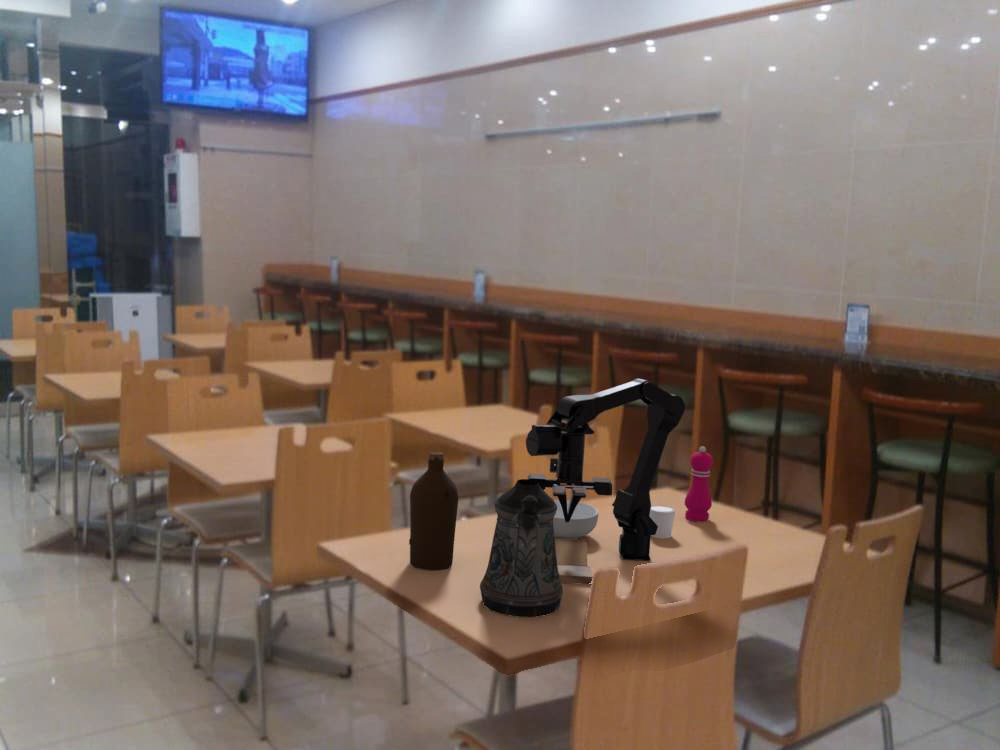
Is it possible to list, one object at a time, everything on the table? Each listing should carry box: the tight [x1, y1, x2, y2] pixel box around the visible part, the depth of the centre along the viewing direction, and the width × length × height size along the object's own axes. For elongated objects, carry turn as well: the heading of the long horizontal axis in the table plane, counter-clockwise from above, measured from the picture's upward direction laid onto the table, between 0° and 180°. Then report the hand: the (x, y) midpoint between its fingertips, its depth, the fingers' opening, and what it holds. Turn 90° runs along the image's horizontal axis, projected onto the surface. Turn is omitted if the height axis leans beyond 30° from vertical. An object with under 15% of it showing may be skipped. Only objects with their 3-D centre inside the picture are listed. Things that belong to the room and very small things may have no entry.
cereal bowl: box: [553, 499, 599, 540], centre depth 249 cm, size 17×17×7 cm
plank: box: [555, 538, 588, 566], centre depth 224 cm, size 17×7×2 cm
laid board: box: [557, 565, 594, 585], centre depth 218 cm, size 18×7×2 cm, turn 90°
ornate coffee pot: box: [479, 478, 564, 618], centre depth 198 cm, size 16×19×25 cm
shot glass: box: [649, 504, 676, 540], centre depth 254 cm, size 7×7×7 cm
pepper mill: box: [684, 445, 714, 522], centre depth 271 cm, size 7×7×20 cm
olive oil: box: [408, 450, 460, 571], centre depth 221 cm, size 11×11×25 cm
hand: (567, 521), depth 226 cm, fingers closed
